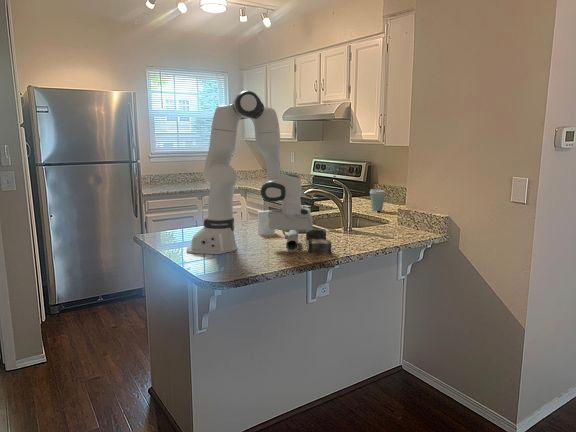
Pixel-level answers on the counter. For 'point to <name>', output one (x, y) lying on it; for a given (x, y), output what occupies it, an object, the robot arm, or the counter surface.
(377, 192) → the disposable coffee cup
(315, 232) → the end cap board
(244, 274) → the counter surface
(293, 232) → the tube
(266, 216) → the white upright block
